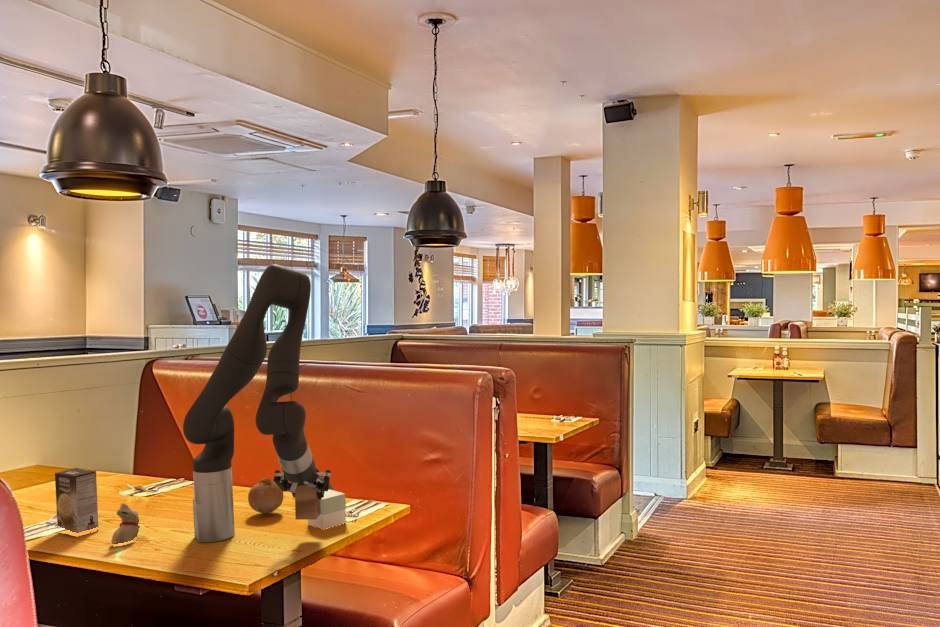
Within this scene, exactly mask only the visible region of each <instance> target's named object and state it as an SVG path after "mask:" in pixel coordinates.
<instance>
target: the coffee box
mask: <svg viewBox="0 0 940 627" xmlns="http://www.w3.org/2000/svg"><path fill="white" fill-rule="evenodd" d="M54 481H55V503H56V522H57V524H56V525H57V527H58V526H60V527H62V528H65V529H67V530H70V531H72V532H76V533H79V532H82V531H86V530H90V529H93V528H96V527H98V528H99V512H98V511H99V509H98V508H99V507H98V506H99V505H98V490H97V488H98V487H97V486H98V484H97V483H98V482H97V471H96V470H93V469H92V470H91V469H85V468H79V467H74V468H70V469H66V470H62V471H58V472H55V473H54Z"/></svg>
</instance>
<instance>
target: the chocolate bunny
mask: <svg viewBox="0 0 940 627" xmlns="http://www.w3.org/2000/svg"><path fill="white" fill-rule="evenodd" d="M138 513H139V512H138V511H136V510H132V509H131V508H130V507H129V505H127V504H126V503H124V502H123V503H121V504H120V506H119V508H118V510H117V511H116V515H117V516H118V517H119V518H120V519H121V522H120V523H119V527H117V529H116V530H115V531H114V532H113V534H112V537H111V543H112V544H118V543H124V542H128V541H131V540H133V539H134V538H135V537H137V536H138V534H139V531H140V528H141V526H140V525H139V523H140V518H139V514H138Z"/></svg>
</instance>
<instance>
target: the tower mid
mask: <svg viewBox="0 0 940 627" xmlns="http://www.w3.org/2000/svg"><path fill="white" fill-rule="evenodd" d="M346 504H347V503H346V493H343V492H341V491H336V490H335V489H334V490H328V491H325V492H324V497H323V498H322V499H320V508H321V515H325V514H329V513H332V512H336V511H340V510H344V509H345V510H346V509H347V506H346Z"/></svg>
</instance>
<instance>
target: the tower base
mask: <svg viewBox="0 0 940 627" xmlns="http://www.w3.org/2000/svg"><path fill="white" fill-rule="evenodd" d="M343 523H346V524H347V517H346V509H344V510H340V511H336V512H332V513H329V514H325V515H321V514H320V515H319V516H318V517H317V519H307V525H308V524H309V525H308V526H310V525H312V526H311V527H313V526H315V527H314V528H316V527H318V528H317V529H319V528H322V529H325V530H327V529H326V528H329V527H332V526H336V525H339V524H343ZM343 525H344V524H343ZM339 526H340V525H339ZM336 527H337V526H336ZM332 528H333V527H332ZM322 529H321V530H322ZM329 529H330V528H329Z"/></svg>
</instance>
